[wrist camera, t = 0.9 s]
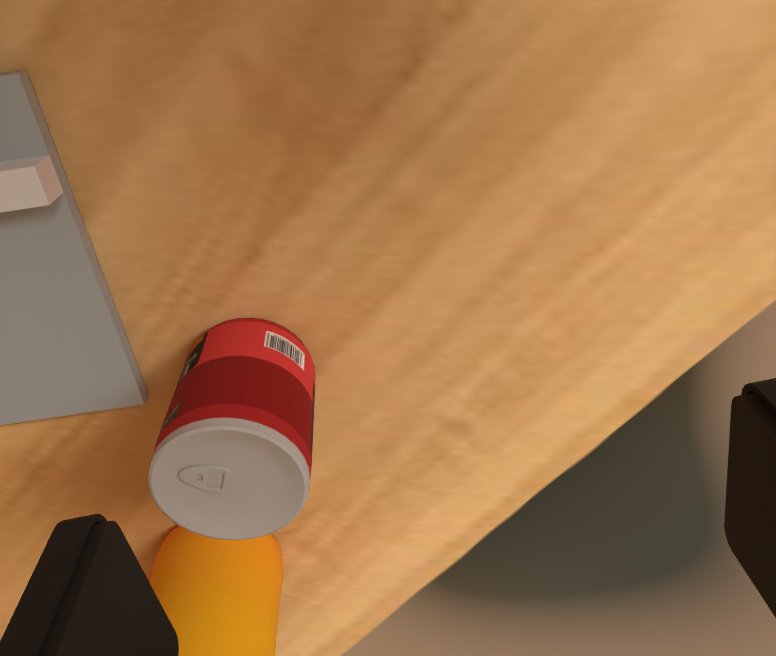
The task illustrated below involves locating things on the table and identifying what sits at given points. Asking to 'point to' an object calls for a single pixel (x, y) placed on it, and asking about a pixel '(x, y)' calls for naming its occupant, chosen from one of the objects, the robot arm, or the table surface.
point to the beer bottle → (220, 593)
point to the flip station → (51, 283)
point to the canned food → (237, 433)
